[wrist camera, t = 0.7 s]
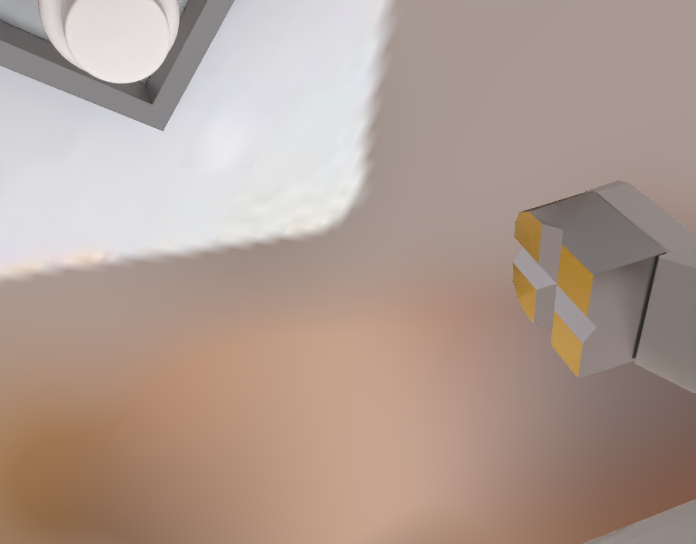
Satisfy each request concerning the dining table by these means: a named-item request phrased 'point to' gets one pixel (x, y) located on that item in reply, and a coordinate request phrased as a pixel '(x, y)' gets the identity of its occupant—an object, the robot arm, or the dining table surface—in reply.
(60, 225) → the dining table surface
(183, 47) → the charcoal bay
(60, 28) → the supplement bottle
